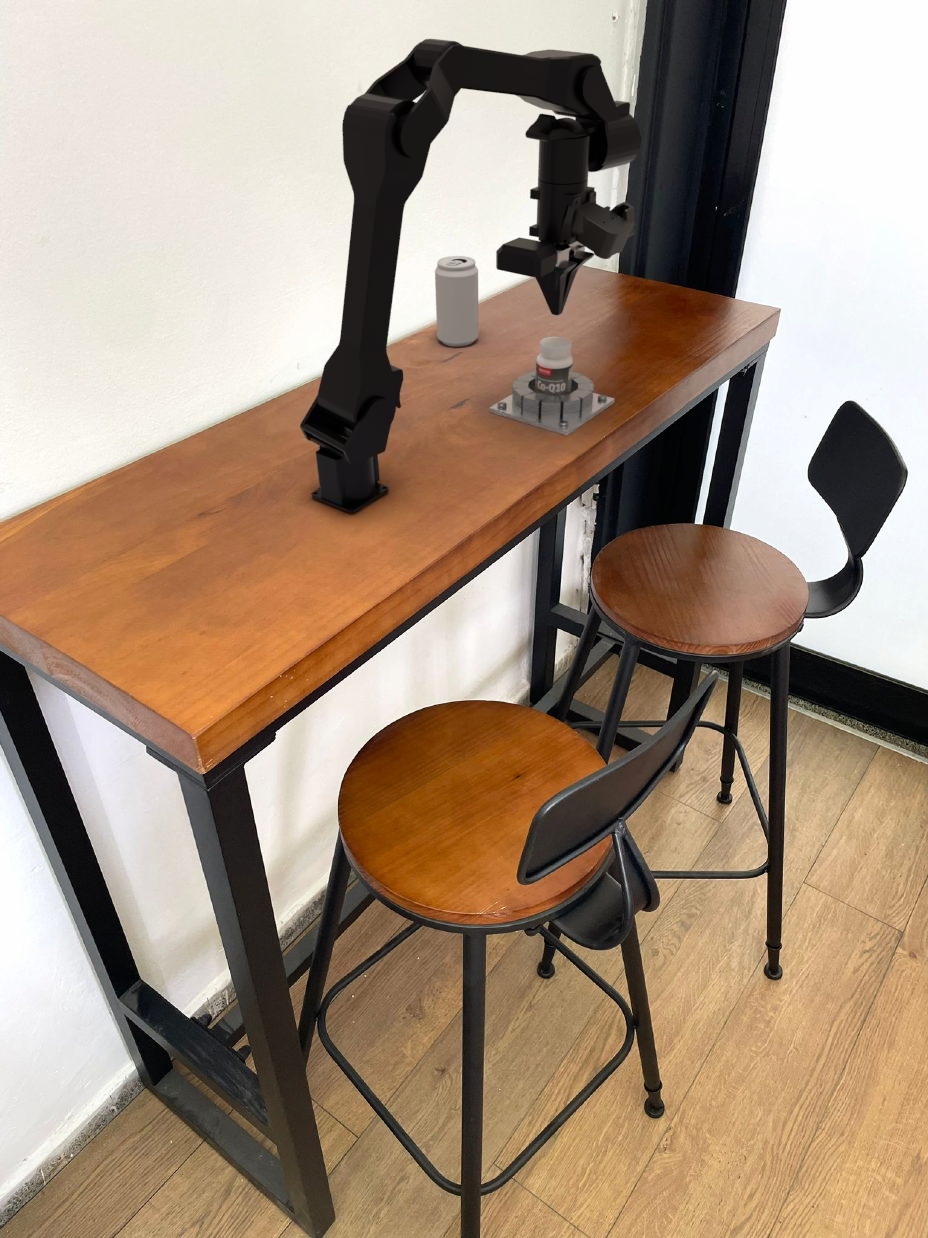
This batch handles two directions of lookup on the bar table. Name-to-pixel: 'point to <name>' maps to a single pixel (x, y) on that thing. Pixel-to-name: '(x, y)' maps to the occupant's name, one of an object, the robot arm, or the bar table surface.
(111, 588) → the bar table surface
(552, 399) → the socket
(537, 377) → the pill bottle
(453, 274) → the beverage can
